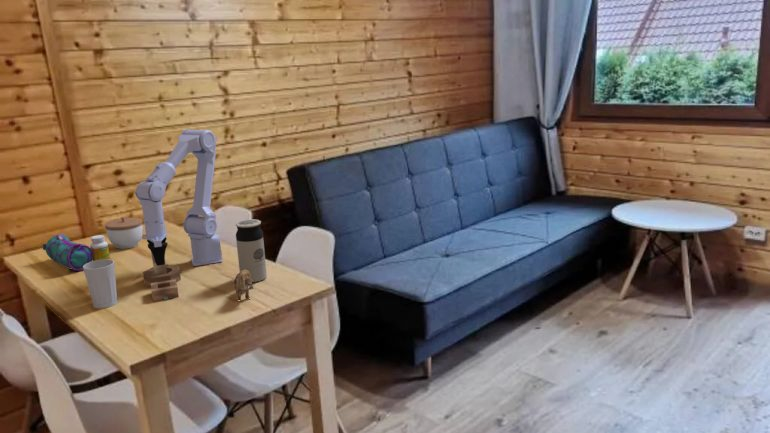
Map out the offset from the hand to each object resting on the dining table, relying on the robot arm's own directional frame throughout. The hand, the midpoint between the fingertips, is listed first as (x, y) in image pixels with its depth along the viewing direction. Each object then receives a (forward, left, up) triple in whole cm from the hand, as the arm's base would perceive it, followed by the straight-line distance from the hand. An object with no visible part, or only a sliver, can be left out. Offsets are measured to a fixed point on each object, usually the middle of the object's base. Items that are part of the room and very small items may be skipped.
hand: (160, 262), depth 185 cm
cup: (+16, +12, -6) cm, 21 cm away
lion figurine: (-21, +25, -6) cm, 33 cm away
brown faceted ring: (0, 0, -6) cm, 6 cm away
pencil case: (+28, -31, -6) cm, 42 cm away
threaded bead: (0, +13, -6) cm, 14 cm away
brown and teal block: (0, 0, -3) cm, 3 cm away
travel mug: (-26, +12, -6) cm, 29 cm away
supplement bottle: (+18, -26, -6) cm, 32 cm away
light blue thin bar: (0, +11, -6) cm, 13 cm away
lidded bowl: (+10, -44, -6) cm, 46 cm away
